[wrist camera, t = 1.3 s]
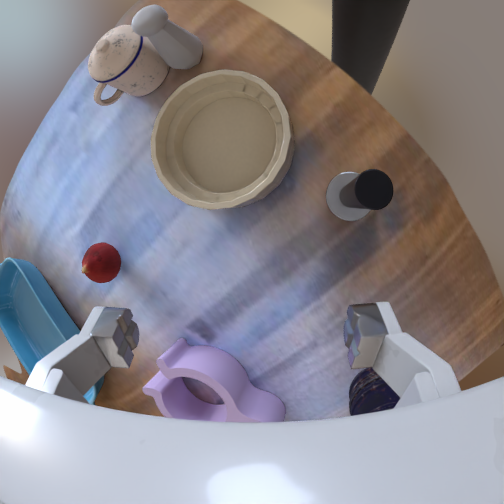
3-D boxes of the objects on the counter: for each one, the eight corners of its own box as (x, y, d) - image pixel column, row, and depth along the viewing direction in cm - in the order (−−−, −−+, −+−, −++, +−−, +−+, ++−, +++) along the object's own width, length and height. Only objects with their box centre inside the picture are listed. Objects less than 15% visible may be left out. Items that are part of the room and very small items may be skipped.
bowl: (212, 71, 35) (195, 53, 30) (319, 121, 34) (318, 106, 28) (154, 171, 39) (130, 167, 34) (251, 232, 38) (238, 237, 32)
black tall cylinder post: (340, 165, 34) (358, 129, 17) (379, 190, 33) (428, 178, 16) (317, 203, 35) (314, 202, 18) (355, 228, 35) (386, 250, 18)
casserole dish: (134, 383, 47) (112, 403, 40) (90, 416, 53) (72, 432, 46) (30, 231, 48) (3, 235, 41) (5, 292, 54) (-15, 299, 47)
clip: (301, 397, 40) (296, 426, 33) (258, 440, 43) (248, 468, 36) (186, 325, 42) (164, 345, 35) (158, 377, 45) (137, 399, 38)
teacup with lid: (145, 42, 37) (103, 11, 25) (183, 58, 36) (142, 22, 25) (104, 102, 40) (55, 84, 28) (137, 123, 39) (85, 105, 28)
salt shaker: (214, 61, 35) (172, 15, 22) (179, 81, 36) (128, 44, 24) (199, 35, 35) (158, -10, 22) (167, 55, 36) (119, 17, 24)
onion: (100, 243, 43) (65, 250, 36) (126, 236, 42) (91, 243, 34) (108, 278, 44) (74, 291, 36) (134, 274, 43) (101, 287, 35)
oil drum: (402, 414, 37) (423, 500, 19) (342, 413, 39) (342, 507, 21) (419, 360, 35) (461, 445, 18) (355, 359, 37) (368, 453, 20)
